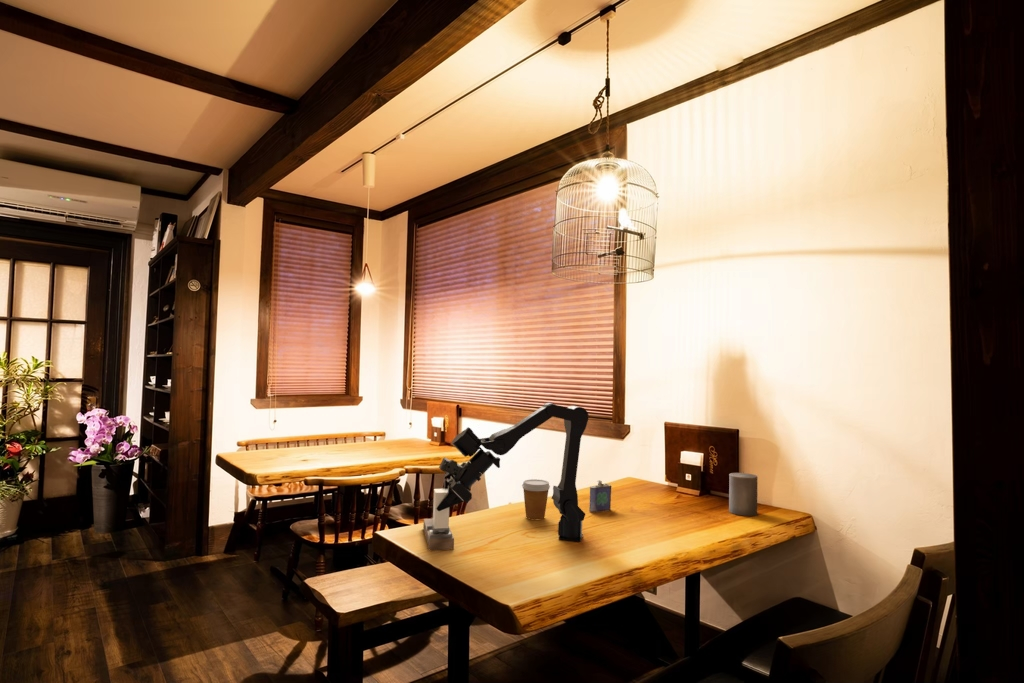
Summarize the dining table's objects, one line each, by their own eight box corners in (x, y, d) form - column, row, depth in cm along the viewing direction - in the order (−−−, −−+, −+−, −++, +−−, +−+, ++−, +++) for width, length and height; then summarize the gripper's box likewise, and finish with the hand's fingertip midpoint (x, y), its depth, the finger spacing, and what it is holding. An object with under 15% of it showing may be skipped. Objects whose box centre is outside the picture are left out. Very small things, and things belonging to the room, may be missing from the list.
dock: (445, 527, 179) (445, 514, 180) (453, 549, 159) (454, 534, 159) (423, 528, 178) (423, 515, 178) (429, 550, 158) (429, 535, 158)
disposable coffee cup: (547, 522, 188) (548, 486, 189) (518, 520, 190) (519, 483, 191) (551, 515, 198) (551, 480, 198) (523, 512, 200) (524, 478, 200)
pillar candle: (763, 516, 204) (763, 473, 205) (739, 516, 202) (740, 474, 203) (745, 509, 214) (746, 468, 214) (723, 510, 211) (723, 469, 212)
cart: (447, 529, 167) (448, 488, 167) (449, 535, 162) (451, 492, 162) (431, 530, 166) (432, 488, 166) (432, 536, 161) (434, 493, 161)
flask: (592, 513, 202) (592, 482, 202) (586, 511, 204) (587, 481, 205) (612, 510, 206) (613, 480, 207) (607, 508, 209) (607, 479, 209)
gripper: (452, 443, 175) (414, 481, 172) (461, 453, 156) (419, 495, 153) (477, 469, 176) (440, 506, 173) (488, 482, 158) (447, 524, 155)
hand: (436, 507), depth 164 cm, fingers open, 5 cm apart
